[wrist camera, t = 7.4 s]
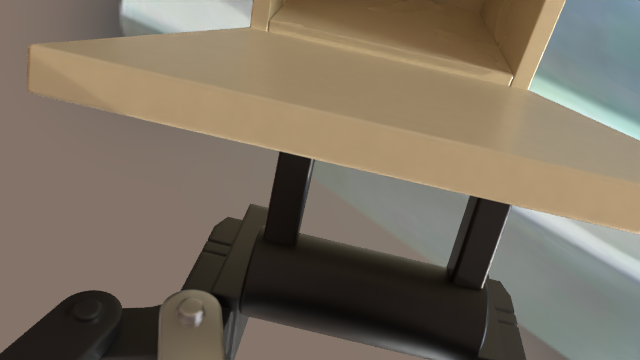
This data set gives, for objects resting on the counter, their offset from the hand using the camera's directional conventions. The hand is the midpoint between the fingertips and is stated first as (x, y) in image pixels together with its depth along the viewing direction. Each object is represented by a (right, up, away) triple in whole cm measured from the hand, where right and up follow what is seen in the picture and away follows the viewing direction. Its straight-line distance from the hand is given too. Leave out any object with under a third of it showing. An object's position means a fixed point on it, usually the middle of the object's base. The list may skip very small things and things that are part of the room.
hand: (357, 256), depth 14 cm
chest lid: (+1, +5, +1) cm, 5 cm away
